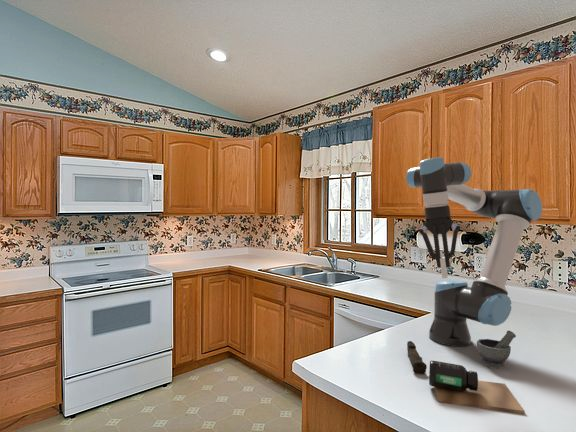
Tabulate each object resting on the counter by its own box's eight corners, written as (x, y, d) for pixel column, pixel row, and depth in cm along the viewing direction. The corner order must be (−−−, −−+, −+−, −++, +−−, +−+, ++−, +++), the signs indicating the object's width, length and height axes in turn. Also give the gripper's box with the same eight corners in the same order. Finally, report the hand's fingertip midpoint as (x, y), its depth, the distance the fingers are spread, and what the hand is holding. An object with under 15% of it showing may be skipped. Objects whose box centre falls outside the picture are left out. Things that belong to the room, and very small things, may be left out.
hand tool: (426, 375, 111) (427, 360, 111) (412, 374, 112) (413, 359, 112) (417, 353, 130) (417, 340, 130) (405, 351, 131) (405, 338, 131)
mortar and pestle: (476, 367, 118) (477, 330, 118) (475, 356, 127) (476, 322, 127) (517, 374, 113) (518, 335, 113) (513, 363, 122) (514, 327, 122)
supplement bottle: (429, 382, 99) (479, 392, 94) (430, 357, 102) (478, 365, 98) (428, 388, 104) (475, 397, 100) (429, 363, 108) (474, 371, 103)
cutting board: (438, 401, 95) (438, 398, 95) (431, 377, 110) (431, 374, 110) (524, 414, 90) (524, 410, 90) (504, 386, 105) (505, 383, 105)
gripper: (458, 202, 118) (467, 274, 119) (417, 207, 125) (425, 275, 125) (458, 204, 112) (466, 279, 113) (414, 208, 118) (422, 280, 119)
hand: (445, 277), depth 119 cm, fingers closed
